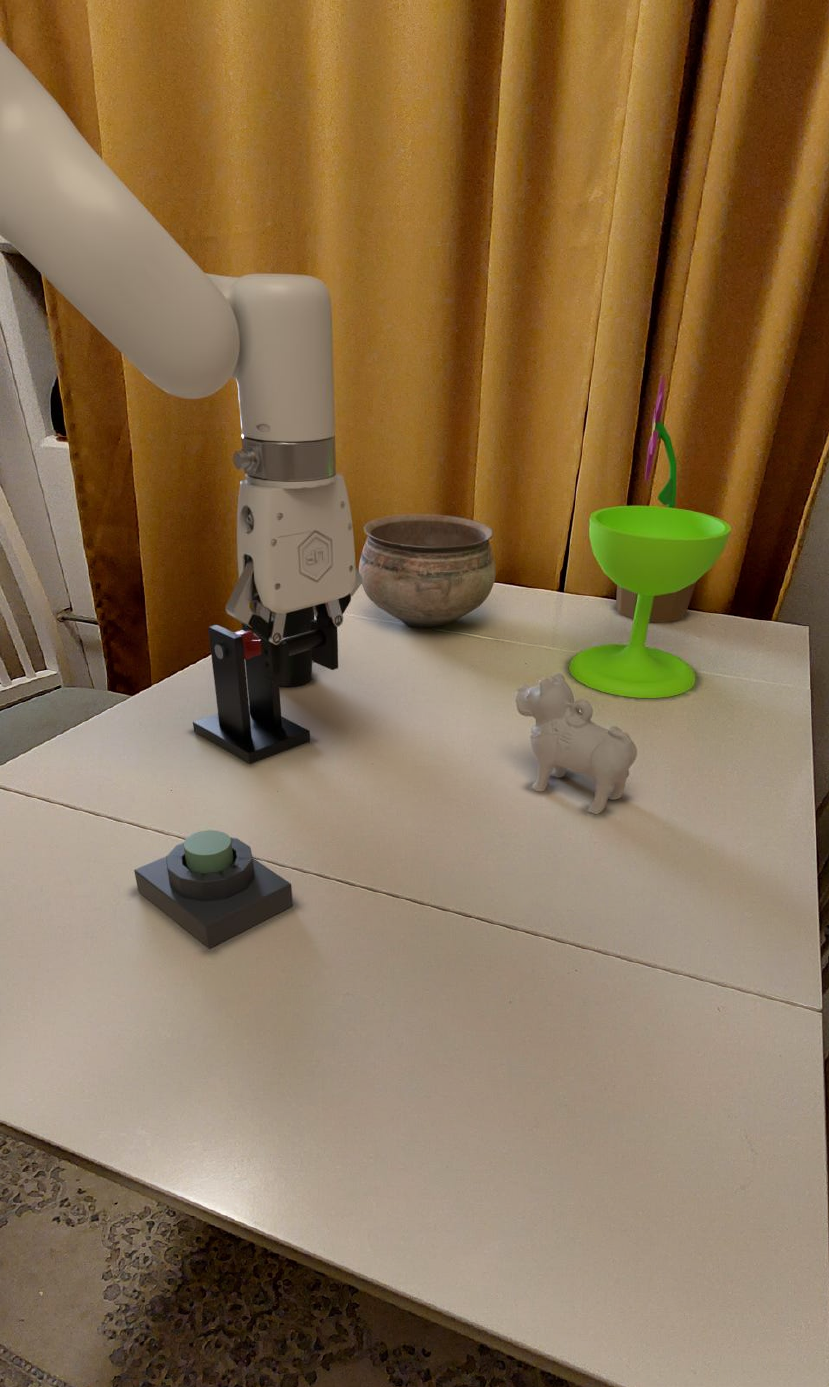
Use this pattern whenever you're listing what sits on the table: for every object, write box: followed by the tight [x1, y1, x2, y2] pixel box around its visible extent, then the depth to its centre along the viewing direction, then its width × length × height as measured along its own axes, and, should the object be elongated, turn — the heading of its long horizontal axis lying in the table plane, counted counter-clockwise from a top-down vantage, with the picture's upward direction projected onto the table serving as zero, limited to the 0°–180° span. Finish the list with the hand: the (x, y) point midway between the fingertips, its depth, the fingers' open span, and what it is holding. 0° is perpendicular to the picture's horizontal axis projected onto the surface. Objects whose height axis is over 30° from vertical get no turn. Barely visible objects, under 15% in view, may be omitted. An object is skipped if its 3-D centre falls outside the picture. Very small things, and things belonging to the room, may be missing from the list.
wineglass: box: [568, 505, 732, 699], centre depth 106 cm, size 16×16×18 cm
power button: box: [183, 829, 233, 873], centre depth 68 cm, size 4×4×2 cm
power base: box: [133, 836, 294, 949], centre depth 69 cm, size 10×8×4 cm
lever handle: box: [234, 629, 325, 659], centre depth 85 cm, size 12×5×2 cm, turn 45°
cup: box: [252, 602, 316, 688], centre depth 103 cm, size 8×8×12 cm
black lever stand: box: [192, 622, 311, 764], centre depth 90 cm, size 10×8×12 cm
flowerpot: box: [615, 374, 698, 623], centre depth 122 cm, size 14×14×30 cm
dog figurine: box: [515, 672, 638, 815], centre depth 84 cm, size 5×13×11 cm, turn 51°
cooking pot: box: [358, 513, 497, 629], centre depth 122 cm, size 25×19×12 cm
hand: (301, 671), depth 83 cm, fingers closed on lever handle, 5 cm apart
